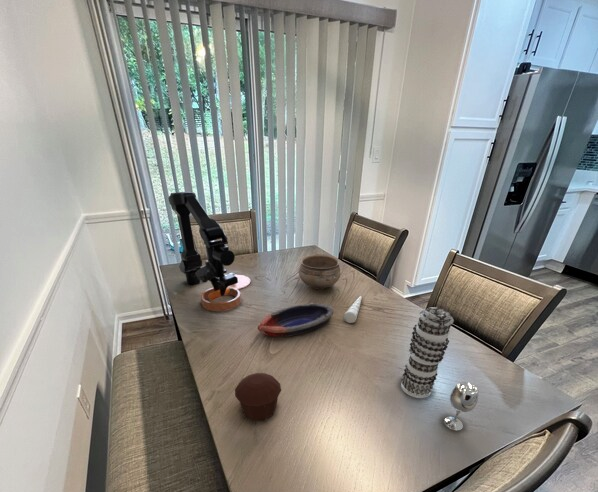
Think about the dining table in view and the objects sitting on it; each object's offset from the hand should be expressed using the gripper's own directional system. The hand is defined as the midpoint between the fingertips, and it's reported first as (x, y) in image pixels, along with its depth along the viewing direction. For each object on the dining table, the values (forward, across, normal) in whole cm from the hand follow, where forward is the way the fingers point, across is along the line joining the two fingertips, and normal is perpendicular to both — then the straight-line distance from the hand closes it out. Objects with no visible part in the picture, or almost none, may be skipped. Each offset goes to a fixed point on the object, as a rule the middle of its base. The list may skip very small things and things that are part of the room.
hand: (220, 294), depth 132 cm
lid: (+3, -12, +15) cm, 20 cm away
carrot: (+1, 0, 0) cm, 1 cm away
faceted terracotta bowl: (+4, 0, 0) cm, 4 cm away
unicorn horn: (+4, +44, +33) cm, 55 cm away
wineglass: (+4, +96, +1) cm, 96 cm away
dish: (+4, +35, +8) cm, 36 cm away
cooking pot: (+4, +19, +41) cm, 46 cm away
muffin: (+4, +56, -29) cm, 63 cm away
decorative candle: (+4, +83, +7) cm, 83 cm away
